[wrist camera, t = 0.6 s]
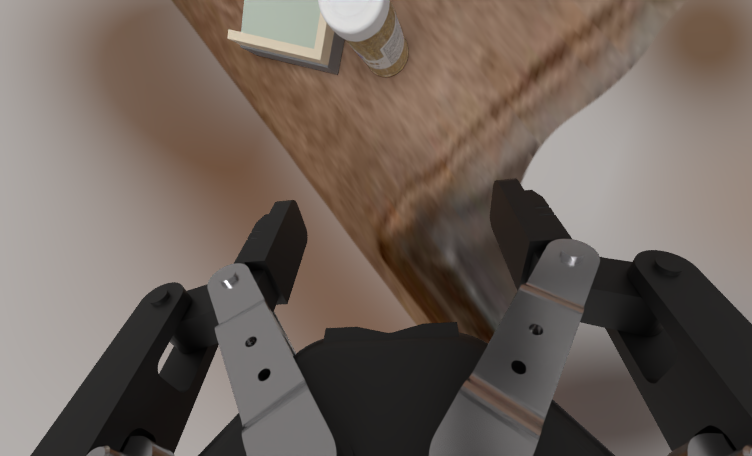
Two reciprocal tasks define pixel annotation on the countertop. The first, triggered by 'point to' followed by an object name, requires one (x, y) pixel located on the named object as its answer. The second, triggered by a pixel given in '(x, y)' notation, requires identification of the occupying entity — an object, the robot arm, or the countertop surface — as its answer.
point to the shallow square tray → (289, 34)
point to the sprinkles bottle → (369, 32)
